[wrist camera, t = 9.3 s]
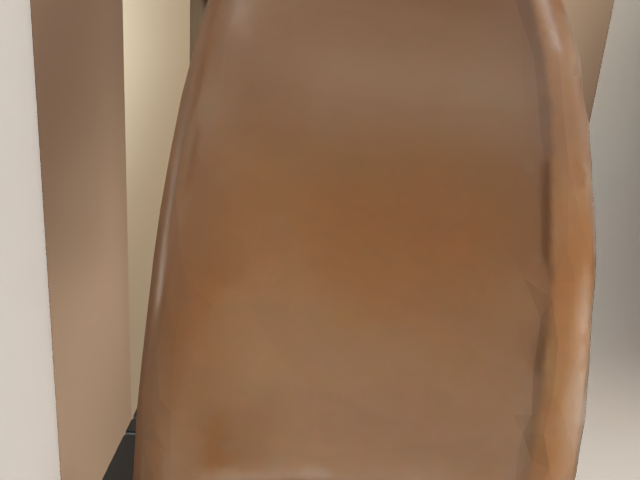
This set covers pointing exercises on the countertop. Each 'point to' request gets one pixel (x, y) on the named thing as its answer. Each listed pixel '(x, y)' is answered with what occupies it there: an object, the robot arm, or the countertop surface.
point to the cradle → (129, 190)
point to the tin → (373, 247)
